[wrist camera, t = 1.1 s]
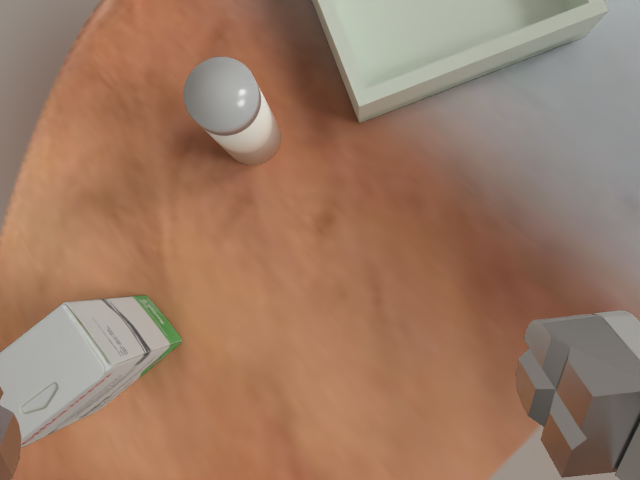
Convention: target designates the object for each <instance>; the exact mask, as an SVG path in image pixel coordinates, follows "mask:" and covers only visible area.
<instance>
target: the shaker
mask: <svg viewBox="0 0 640 480" xmlns="http://www.w3.org/2000/svg"><path fill="white" fill-rule="evenodd" d="M184 103H185V106H186V109H187V111H188V113H189V114H190V116H191V117H192V118H193V119H194V120H195V121H196V122H197V123H198V124H199V125H200V126H201V127H202V128H203V129H204V130H205V131H206V132H207V133H208V134H209V135H210V136H211V137H212V138H213V139H214V140H215V141H216V142H217V143H218V144H219V145H220V146H222V147H223V148H224V149H225V150H226V151H227V152H228V153H229V154H230V155H231V156H232V157H233V158H234V159H235V160H236V161H238V162H240V163H242V164H245V165H260V164H263V163H265V162H267V161H268V160H270V159H271V158H272V157H273V156H274V155H275V154H276V152H277V150H278V149H279V146H280V143H281V131H280V127H279V125H278V123H277V121H276V119H275V117H274V115H273V113H272V111H271V109H270V107H269V106H268V104H267V102H266V100H265V98H264V96H263V94H262V92H261V90H260V88H259V86H258V84H257V82H256V80H255V78H254V77H253V75H252V73H251V72H250V70H249V69H248V68H247V67H246V66H245V65H244V64H243V63H241V62H240V61H238V60H236V59H233V58H229V57H214V58H211V59H208V60H205V61H203V62H202V63H200V64H199V65H198V66H196V67H195V68H194V69H193V70H192V72H191V73H190V74H189V76H188V78H187V80H186V83H185V86H184Z"/></svg>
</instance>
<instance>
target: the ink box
mask: <svg viewBox="0 0 640 480" xmlns="http://www.w3.org/2000/svg"><path fill="white" fill-rule="evenodd" d="M181 342H182V338H181V337H180V336H179V334H178V333H177V332H176V330H175V329H174V328H173V327H172V325H171V324H170V323H169V321H168V320H167V319H166V317H165V316H164V315H163V314H162V312H161V311H160V310H159V309H158V308H157V306H156V305H155V304H154V303H153V302H152V301H151V300H150V299H149V297H148V296H146V295H142V296H132V297H121V298H109V299H97V300H84V301H73V302H64V303H62V304H61V305H60V306H59V307H57V308H56V309H55V310H53V311H52V312H51V313H50V314H48V315H47V316H46V317H44V318H43V319H42V320H41V321H39V322H38V323H37V324H36V325H34V326H33V327H32V328H31V329H29V330H28V331H27V332H25V333H24V334H23V335H22V336H20V337H19V338H18V339H17V340H15V341H14V342H13V343H11V344H10V345H9V346H8V347H6V348H5V349H4V350H3V351H1V352H0V387H1V389H2V391H3V392H4V393H3V395H2V397H1V400H0V405H1V406H3V407H4V408H6V409H8V410H10V411H11V412H13V413H14V415H15V417H16V419H17V421H18V423H19V427H20V433H21V448H22V447H24V446H26V445H28V444H30V443H32V442H34V441H36V440H38V439H41V438H43V437H45V436H47V435H49V434H51V433H53V432H55V431H57V430H59V429H61V428H63V427H65V426H67V425H70V424H72V423H74V422H76V421H78V420H80V419H82V418H84V417H86V416H89V415H91V414H93V413H95V412H97V411H99V410H101V409H102V408H103V407H105V406H106V405H107V404H108V403H109V402H111V401H112V400H113V399H114V398H116V397H117V396H118V395H119V394H120V393H122V392H123V391H124V390H125V389H126V388H128V387H129V386H130V385H131V384H132V383H134V382H135V381H136V380H137V379H138V378H140V377H141V376H142V375H143V374H144V373H146V372H147V371H148V370H149V369H151V368H152V367H153V366H154V365H155V364H157V363H158V362H159V361H160V360H161V359H163V358H164V357H165V356H166V355H167V354H169V353H170V352H171V351H172V350H173V349H175V348H176V347H177V346H178V345H179V344H180V343H181Z"/></svg>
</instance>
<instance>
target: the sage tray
mask: <svg viewBox="0 0 640 480" xmlns="http://www.w3.org/2000/svg"><path fill="white" fill-rule="evenodd" d="M312 3H313V6H314V8H315V11H316V13H317V16H318V18H319V21H320V24H321V26H322V29H323V31H324V34H325V36H326V39H327V42H328V44H329V47H330V49H331V52H332V54H333V57H334V60H335V62H336V65H337V67H338V70H339V73H340V75H341V78H342V80H343V83H344V85H345V88H346V91H347V93H348V96H349V98H350V101H351V103H352V106H353V109H354V111H355V114H356V116H357V119H358V122H359V123H362V122H364V121H367V120H370V119H372V118H375V117H377V116H380V115H383V114H385V113H388V112H390V111H393V110H396V109H398V108H401V107H403V106H406V105H409V104H411V103H414V102H416V101H419V100H422V99H424V98H427V97H429V96H432V95H435V94H437V93H440V92H442V91H445V90H448V89H450V88H453V87H455V86H458V85H461V84H463V83H466V82H468V81H471V80H474V79H476V78H479V77H481V76H484V75H487V74H489V73H492V72H494V71H497V70H500V69H502V68H505V67H507V66H510V65H513V64H515V63H518V62H520V61H523V60H526V59H528V58H531V57H533V56H536V55H539V54H541V53H544V52H546V51H549V50H552V49H554V48H557V47H559V46H562V45H565V44H567V43H570V42H572V41H575V40H578V39H580V38H583V37H585V36H586V35H587V34H588V33H589V32H590V31H591V29H592V28H593V27H594V26H595V25H596V24H597V23H598V22H599V21H600V20H601V19H602V17H603V16H604V15H605V14H606V13H607V12H608V11H609V9H608V7H607V4H606V2H605V0H312Z"/></svg>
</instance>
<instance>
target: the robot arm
mask: <svg viewBox="0 0 640 480" xmlns="http://www.w3.org/2000/svg"><path fill="white" fill-rule="evenodd" d="M524 340H525V341H526V343H527V345H528V346H529V349H528V350H527V351H526V352H525V353H524V354H523V355H522V356H521V357H520V358H519V359H518V363H517V368H516V373H515V376H516V386H517V392H518V395H519V398H520V401H521V404H522V405H523V407H524V409H525V411H526V413H527V415H528V416H529V417H530V418H532V419H533V420H535V421H536V422H538V423H539V424H540V425H542V426H543V427H544V428H543V432H542V437H541V441H542V443H543V445H544V446H545V448H546V450H547V452H548V454H549V456H550V457H551V459H552V461H553V463H554V465H555V467H556V468H557V470H558V472H559V474H560V475H561V477H572V476H581V475H591V474H601V473H611V472H616V473H615V476H617V477H618V478H619V479H620V480H640V322H639V321H638V320H637V319H636V317H635V316H634V315H632V314H631V313H629V312H627V311H625V310H620V311H611V312H602V313H594V314H585V315H576V316H566V317H557V318H548V319H539V320H532V322H531V323H530V324H529V325H528V326H527V329H526V332H525V336H524ZM3 393H4V392H3V391H2V389H1V387H0V400H1V397H2V395H3ZM20 449H21V433H20V427H19V423H18V421H17V419H16V417H15V415H14V413H13V412H11V411H10V410H8V409H6V408H4V407H3V406H1V405H0V480H10V479H12V478H13V476H14V473H15V470H16V467H17V464H18V462H19V459H20Z"/></svg>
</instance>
